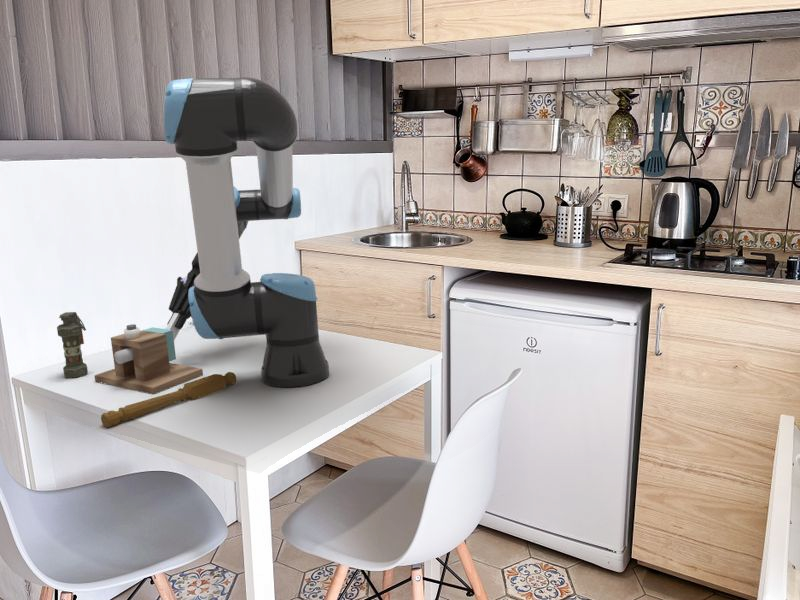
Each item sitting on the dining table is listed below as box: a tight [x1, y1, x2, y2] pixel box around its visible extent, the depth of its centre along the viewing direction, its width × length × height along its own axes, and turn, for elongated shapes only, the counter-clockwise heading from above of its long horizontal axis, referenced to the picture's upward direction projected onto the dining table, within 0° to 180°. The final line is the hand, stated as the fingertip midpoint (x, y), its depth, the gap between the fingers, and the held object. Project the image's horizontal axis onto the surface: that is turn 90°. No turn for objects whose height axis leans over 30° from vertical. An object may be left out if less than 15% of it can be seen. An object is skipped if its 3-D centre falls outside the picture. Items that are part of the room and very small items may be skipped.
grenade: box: [56, 311, 88, 379], centre depth 159 cm, size 6×6×15 cm
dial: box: [123, 323, 141, 340], centre depth 150 cm, size 3×3×3 cm
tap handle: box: [100, 371, 237, 428], centre depth 139 cm, size 3×3×30 cm
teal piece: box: [113, 326, 177, 364], centre depth 153 cm, size 7×12×7 cm, turn 149°
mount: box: [94, 330, 204, 395], centre depth 154 cm, size 20×14×10 cm
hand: (167, 339), depth 159 cm, fingers closed
